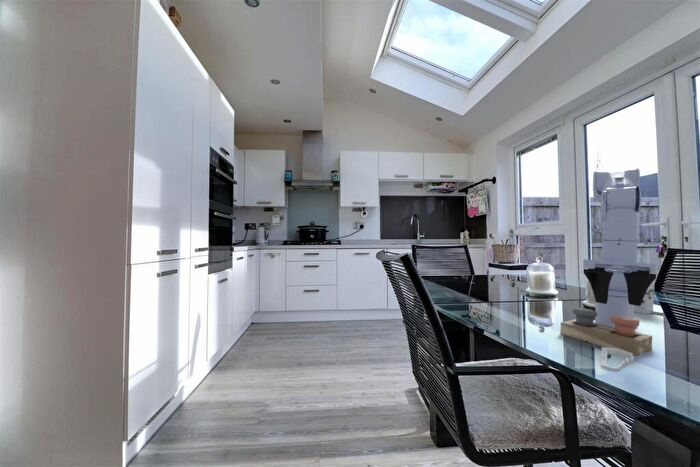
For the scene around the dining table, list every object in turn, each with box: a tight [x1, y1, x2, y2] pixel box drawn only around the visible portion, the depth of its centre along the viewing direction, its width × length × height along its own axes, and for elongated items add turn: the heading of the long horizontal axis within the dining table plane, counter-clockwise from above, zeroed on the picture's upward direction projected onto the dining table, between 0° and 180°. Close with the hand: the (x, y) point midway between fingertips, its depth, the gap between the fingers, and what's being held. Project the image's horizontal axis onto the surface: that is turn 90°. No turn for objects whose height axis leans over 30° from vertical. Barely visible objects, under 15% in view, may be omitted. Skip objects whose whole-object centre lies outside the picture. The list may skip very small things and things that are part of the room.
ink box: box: [634, 279, 656, 315], centre depth 105 cm, size 9×5×12 cm, turn 27°
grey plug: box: [572, 307, 597, 327], centre depth 77 cm, size 5×5×4 cm
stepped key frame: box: [600, 346, 635, 372], centre depth 63 cm, size 13×5×2 cm, turn 140°
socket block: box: [559, 318, 653, 357], centre depth 74 cm, size 8×15×3 cm, turn 28°
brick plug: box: [611, 316, 640, 337], centre depth 70 cm, size 5×5×4 cm
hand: (617, 304), depth 67 cm, fingers open, 7 cm apart
